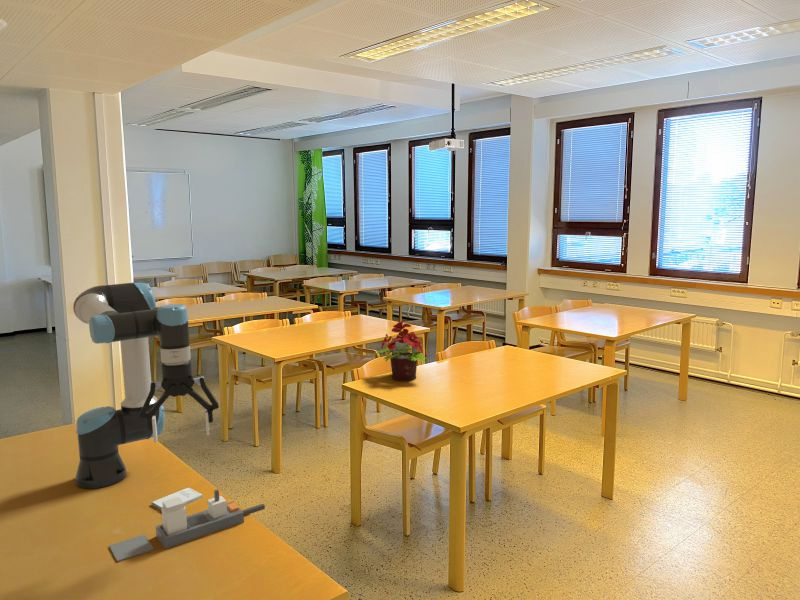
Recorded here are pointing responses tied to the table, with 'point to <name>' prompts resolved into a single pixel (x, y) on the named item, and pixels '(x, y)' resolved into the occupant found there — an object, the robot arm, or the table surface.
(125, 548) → the mat
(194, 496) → the external hard drive
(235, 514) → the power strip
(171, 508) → the block
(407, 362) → the potted plant
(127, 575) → the table surface
